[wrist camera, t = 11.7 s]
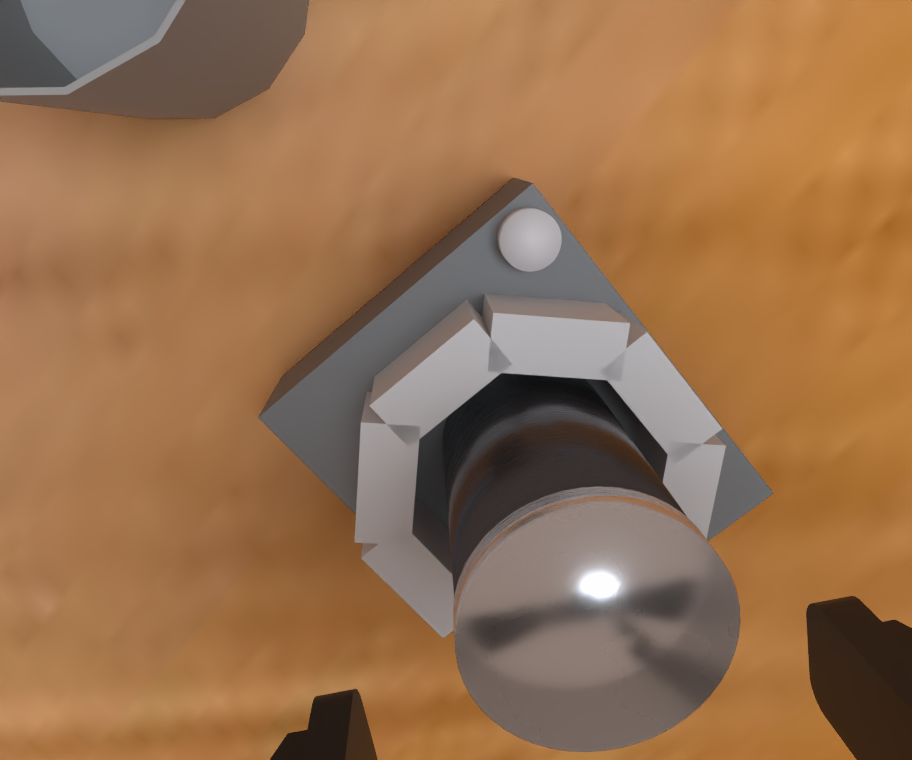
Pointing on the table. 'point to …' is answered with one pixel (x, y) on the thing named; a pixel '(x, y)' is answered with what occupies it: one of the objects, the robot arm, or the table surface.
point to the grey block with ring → (470, 369)
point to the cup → (145, 53)
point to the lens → (576, 572)
